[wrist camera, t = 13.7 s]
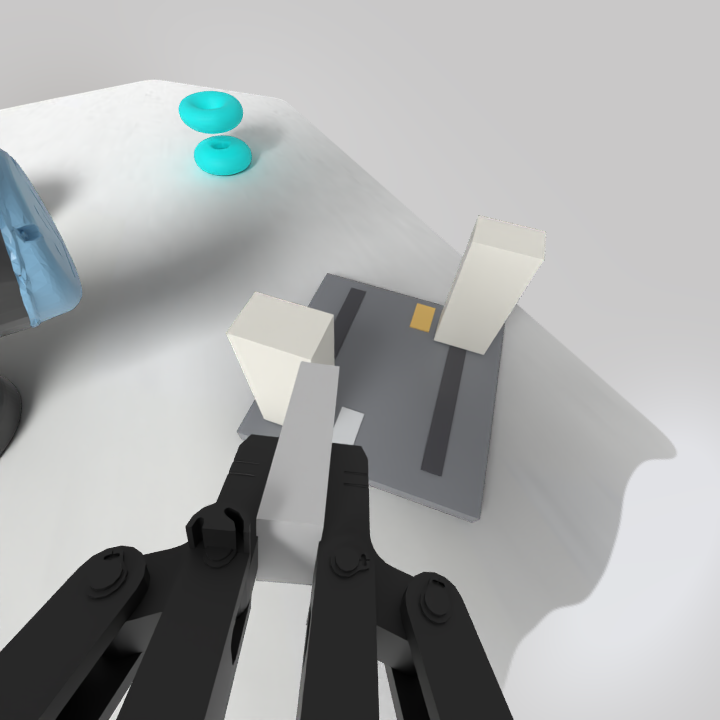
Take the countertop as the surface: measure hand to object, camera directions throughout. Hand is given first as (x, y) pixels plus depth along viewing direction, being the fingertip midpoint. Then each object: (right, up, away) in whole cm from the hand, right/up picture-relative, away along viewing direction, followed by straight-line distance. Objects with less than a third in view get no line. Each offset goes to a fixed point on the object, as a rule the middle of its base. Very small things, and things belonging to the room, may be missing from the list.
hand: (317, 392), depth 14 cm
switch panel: (+5, -1, +26) cm, 27 cm away
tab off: (-4, -4, +21) cm, 22 cm away
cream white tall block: (+14, +4, +28) cm, 31 cm away
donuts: (-23, +38, +50) cm, 67 cm away
